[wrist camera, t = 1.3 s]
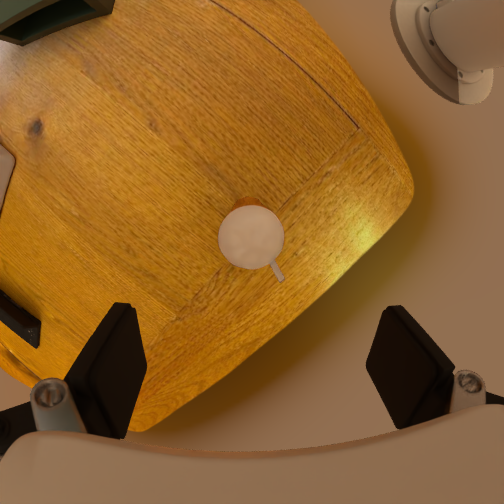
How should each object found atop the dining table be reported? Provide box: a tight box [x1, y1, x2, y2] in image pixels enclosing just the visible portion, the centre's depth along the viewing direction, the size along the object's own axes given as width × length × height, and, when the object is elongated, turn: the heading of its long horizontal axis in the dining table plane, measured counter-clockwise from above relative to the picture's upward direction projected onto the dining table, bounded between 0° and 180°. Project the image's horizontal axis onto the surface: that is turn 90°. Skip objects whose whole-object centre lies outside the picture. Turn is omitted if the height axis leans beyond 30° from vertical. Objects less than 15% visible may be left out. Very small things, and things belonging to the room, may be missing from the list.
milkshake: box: [218, 196, 285, 283], centre depth 22 cm, size 4×5×10 cm
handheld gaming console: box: [0, 290, 41, 349], centre depth 28 cm, size 12×7×10 cm
